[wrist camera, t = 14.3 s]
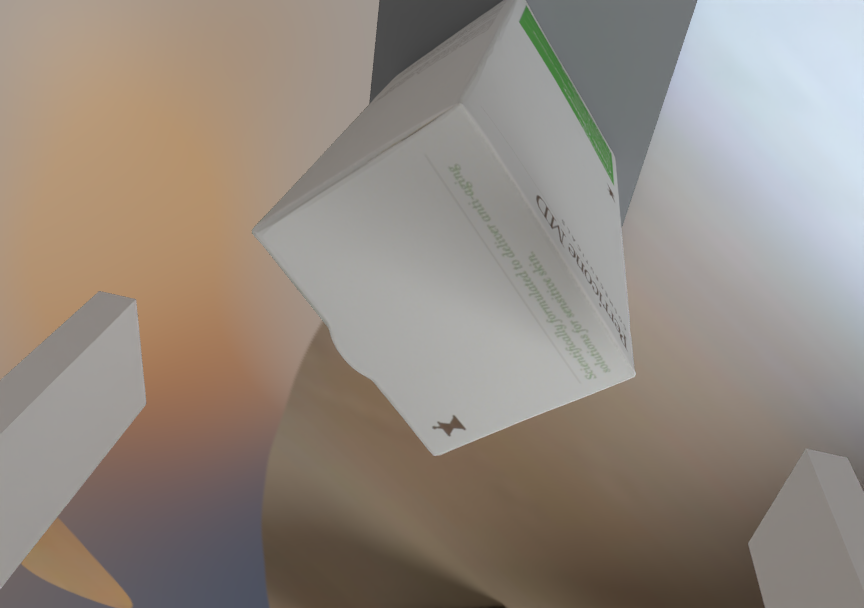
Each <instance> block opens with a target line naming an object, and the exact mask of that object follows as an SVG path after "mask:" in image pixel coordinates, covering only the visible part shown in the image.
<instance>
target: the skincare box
mask: <svg viewBox="0 0 864 608" xmlns="http://www.w3.org/2000/svg"><path fill="white" fill-rule="evenodd" d="M252 234H253V235H254V236H255V237H256V239H257V240H258V241H259V242H260V243H261V244H262V245H263V246H264V248H265V249H266V250H267V251H268V253H269V254H270V255H271V256H272V258H273V259H274V260H275V261H276V263H277V264H278V265H279V267H280V268H281V269H282V270H283V271H284V273H285V274H286V275H287V277H288V278H289V279H290V280H291V282H292V283H293V284H294V285H295V287H296V288H297V289H298V290H299V292H300V293H301V294H302V295H303V297H304V298H305V299H306V300H307V302H308V303H309V304H310V305H311V307H312V308H313V309H314V310H315V312H316V313H317V314H318V315H319V317H320V318H321V319H322V321H323V322H324V323H325V324H326V326H327V327H328V328H329V331H330V335H331V338H332V340H333V343H334V345H335V347H336V349H337V350H338V352H339V353H340V354H341V356H342V357H343V358H344V360H345V361H346V362H347V363H348V364H349V365H350V366H351V367H352V368H353V369H355V370H356V371H358V372H359V373H361V374H362V375H364V376H366V377H367V378H369V379H371V380H372V381H373V382H374V383H375V385H376V386H377V387H378V388H379V390H380V391H381V392H382V393H383V394H384V396H385V397H386V398H387V399H388V400H389V402H390V403H391V404H392V405H393V406H394V408H395V409H396V410H397V411H398V413H399V414H400V415H401V416H402V417H403V419H404V420H405V421H406V422H407V424H408V425H409V426H410V427H411V429H412V430H413V431H414V432H415V434H416V435H417V436H418V438H419V439H420V440H421V441H422V443H423V444H424V445H425V446H426V448H427V449H428V450H429V451H430V452H431V453H432V454H433V455H434V456H437V455H439V456H440V455H442V454H444V453H446V452H449V451H451V450H453V449H456V448H458V447H461V446H463V445H465V444H468V443H470V442H473V441H475V440H478V439H480V438H483V437H485V436H487V435H490V434H492V433H495V432H497V431H500V430H502V429H504V428H507V427H509V426H512V425H514V424H516V423H519V422H521V421H524V420H526V419H529V418H531V417H534V416H536V415H539V414H542V413H544V412H547V411H549V410H552V409H555V408H557V407H560V406H562V405H565V404H568V403H570V402H573V401H576V400H578V399H581V398H583V397H586V396H588V395H591V394H593V393H596V392H598V391H601V390H603V389H606V388H608V387H611V386H613V385H616V384H618V383H621V382H623V381H626V380H628V379H631V378H633V377H635V375H636V372H635V369H634V360H633V350H632V339H631V334H630V318H629V308H628V295H627V286H626V273H625V263H624V252H623V241H622V229H621V218H620V207H619V194H618V183H617V172H616V160H615V156H614V154H613V152H612V150H611V148H610V147H609V145H608V143H607V142H606V140H605V138H604V137H603V135H602V133H601V131H600V129H599V128H598V126H597V124H596V122H595V120H594V118H593V117H592V115H591V113H590V111H589V109H588V108H587V106H586V104H585V103H584V101H583V99H582V97H581V96H580V94H579V92H578V91H577V89H576V87H575V85H574V84H573V82H572V80H571V79H570V77H569V75H568V73H567V72H566V70H565V68H564V67H563V65H562V63H561V61H560V60H559V58H558V56H557V55H556V53H555V51H554V50H553V48H552V46H551V44H550V43H549V41H548V39H547V37H546V36H545V34H544V32H543V30H542V29H541V27H540V25H539V23H538V21H537V20H536V18H535V16H534V14H533V12H532V11H531V9H530V7H529V5H528V3H527V2H526V0H503V1H502V2H500V3H499V4H497V5H496V6H494V7H493V8H492V9H490V10H489V11H487V12H486V13H484V14H483V15H481V16H480V17H479V18H477V19H476V20H474V21H473V22H471V23H470V24H468V25H467V26H466V27H464V28H463V29H461V30H460V31H458V32H457V33H456V34H454V35H453V36H451V37H450V38H448V39H447V40H446V41H444V42H443V43H441V44H440V45H439V46H437V47H436V48H434V49H433V50H432V51H430V52H429V53H427V54H426V55H425V56H423V57H422V58H420V59H419V60H418V61H416V62H415V63H413V64H412V65H411V66H409V67H408V68H406V69H405V70H404V71H402V72H401V73H399V74H398V75H397V76H396V77H395V78H394V79H393V80H392V81H391V82H390V83H389V84H388V85H387V86H386V87H385V88H384V89H383V90H382V91H381V92H380V93H379V94H378V95H377V96H376V97H375V98H374V100H373V101H372V102H371V103H370V104H369V105H368V106H367V107H366V108H365V109H364V111H363V112H362V113H361V114H360V115H359V116H358V117H357V118H356V119H355V121H353V123H352V124H351V125H350V126H349V127H348V128H347V129H346V130H345V131H344V132H343V133H342V134H341V135H340V136H339V137H338V138H337V139H336V140H335V142H334V143H333V144H332V145H331V146H330V147H329V148H328V149H327V150H326V151H325V152H324V154H323V155H322V156H321V157H320V158H319V159H318V160H317V161H316V162H315V163H314V164H313V166H312V167H311V168H310V169H309V170H308V171H307V172H306V173H305V174H304V175H303V176H302V177H301V178H300V179H299V180H298V181H297V182H296V183H295V185H294V186H293V187H292V188H291V189H290V190H289V191H288V192H287V193H286V194H285V195H284V196H283V197H282V199H281V200H280V201H279V202H278V203H277V204H276V205H275V206H274V207H273V208H272V209H271V210H270V211H269V212H268V213H267V214H266V215H265V216H264V217H263V218H262V219H261V220H260V221H259V223H257V225H256V226H255V227H254V228H253V229H252Z"/></svg>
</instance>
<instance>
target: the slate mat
mask: <svg viewBox="0 0 864 608" xmlns="http://www.w3.org/2000/svg"><path fill="white" fill-rule="evenodd" d="M502 1H503V0H380V2H379V12H378V22H377V32H376V33H377V34H376V42H375V53H374V63H373V73H372V83H371V94H370V103H371V102H372V101H373V100H374V98H375V97H376V96H377V95H378V94H379V93H380V92H381V91H382V90H383V89H384V88H385V87H386V86H387V85H388V84H389V83H390V82H391V81H392V80H393V79H394V78H395V77H396V76H397V75H398V74H399V73H401V72H402V71H404V70H405V69H406V68H408V67H409V66H411V65H412V64H413V63H415V62H416V61H418V60H419V59H420V58H422V57H423V56H425V55H426V54H427V53H429V52H430V51H432V50H433V49H434V48H436V47H437V46H439V45H440V44H441V43H443V42H444V41H446V40H447V39H448V38H450V37H451V36H453V35H454V34H456V33H457V32H458V31H460V30H461V29H463V28H464V27H466V26H467V25H468V24H470V23H471V22H473V21H474V20H476V19H477V18H479V17H480V16H481V15H483V14H484V13H486V12H487V11H489V10H490V9H492V8H493V7H494V6H496V5H497V4H499V3H500V2H502ZM526 2H527V3H528V5H529V7H530V9H531V11H532V12H533V14H534V16H535V18H536V20H537V21H538V23H539V25H540V27H541V29H542V30H543V32H544V34H545V36H546V37H547V39H548V41H549V43H550V44H551V46H552V48H553V50H554V51H555V53H556V55H557V56H558V58H559V60H560V61H561V63H562V65H563V67H564V68H565V70H566V72H567V73H568V75H569V77H570V79H571V80H572V82H573V84H574V85H575V87H576V89H577V91H578V92H579V94H580V96H581V97H582V99H583V101H584V103H585V104H586V106H587V108H588V109H589V111H590V113H591V115H592V117H593V118H594V120H595V122H596V124H597V126H598V128H599V129H600V131H601V133H602V135H603V137H604V138H605V140H606V142H607V143H608V145H609V147H610V148H611V150H612V152H613V154H614V156H615V160H616V172H617V183H618V194H619V207H620V218H621V229H622V226H623V223H624V219H625V216H626V213H627V210H628V207H629V204H630V201H631V198H632V195H633V192H634V189H635V186H636V183H637V180H638V177H639V174H640V171H641V168H642V165H643V162H644V159H645V156H646V153H647V150H648V147H649V144H650V141H651V138H652V135H653V132H654V129H655V126H656V123H657V120H658V117H659V114H660V111H661V108H662V105H663V102H664V99H665V96H666V93H667V90H668V87H669V84H670V81H671V78H672V75H673V72H674V69H675V66H676V63H677V60H678V57H679V54H680V51H681V48H682V45H683V42H684V39H685V36H686V33H687V30H688V27H689V24H690V21H691V18H692V15H693V12H694V9H695V6H696V3H697V0H526Z"/></svg>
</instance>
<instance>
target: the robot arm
mask: <svg viewBox="0 0 864 608" xmlns="http://www.w3.org/2000/svg"><path fill="white" fill-rule="evenodd" d="M145 405H146V395H145V385H144V375H143V365H142V354H141V344H140V335H139V324H138V314H137V304H136V299H132V298H128V297H124V296H119V295H115V294H110V293H106V292H101V291H99V292H98V293H97V294H96V295H94V296H93V297H92V298H91V299H90V300H89V301H88V302H87V303H85V304H84V305H83V306H82V307H81V308H80V309H79V310H78V311H77V312H75V314H73V315H72V316H71V317H70V318H69V319H68V320H67V321H65V322H64V323H63V324H62V325H61V326H60V327H59V328H58V329H57V330H55V332H54V333H52V334H51V335H50V336H49V337H48V338H47V339H45V340H44V341H43V342H42V343H41V344H40V345H39V346H38V347H37V348H35V349H34V350H33V351H32V352H31V353H30V354H29V355H28V356H27V357H25V358H24V359H23V360H22V361H21V362H20V363H19V364H18V365H17V366H15V367H14V368H13V369H12V370H11V371H10V372H9V373H8V374H7V375H5V376H4V377H3V378H2V379H1V380H0V589H1V587H2V586H3V585H4V584H5V582H6V581H7V580H8V579H9V577H10V576H11V575H12V573H13V572H14V571H15V570H16V568H17V567H18V566H19V565H20V563H21V562H22V561H23V560H24V558H25V557H26V556H27V554H28V553H29V552H30V551H31V549H32V548H33V547H34V546H35V544H36V543H37V542H38V541H39V539H40V538H41V537H42V536H43V534H44V533H45V532H46V530H47V529H48V528H49V527H50V525H51V524H52V523H53V522H54V520H55V519H56V518H57V517H58V515H59V514H60V513H61V511H62V510H63V509H64V508H65V506H66V505H67V504H68V503H69V501H70V500H71V499H72V498H73V496H74V495H75V494H76V492H77V491H78V490H79V489H80V487H81V486H82V485H83V484H84V482H85V481H86V480H87V479H88V477H89V476H90V474H91V473H92V472H93V471H94V470H95V468H96V467H97V465H99V463H100V462H101V461H102V460H103V458H104V457H105V456H106V454H107V453H108V452H109V451H110V449H111V448H112V447H113V445H114V444H115V443H116V442H117V440H118V439H119V438H120V437H121V435H122V434H123V433H124V432H125V430H126V429H127V428H128V427H129V425H130V424H131V423H132V421H133V420H134V419H135V418H136V416H137V415H138V414H139V413H140V411H141V410H142V409H143V407H144V406H145ZM748 545H749V549H750V553H751V557H752V560H753V564H754V568H755V572H756V576H757V579H758V583H759V587H760V591H761V595H762V598H763V602H764V606H765V608H864V492H863V490H862V488H861V485H860V483H859V481H858V479H857V477H856V475H855V473H854V470H853V468H852V466H851V464H850V462H849V460H848V458H847V457H842V456H838V455H833V454H829V453H825V452H820V451H816V450H811V449H807V448H806V449H805V451H804V452H803V454H802V456H801V457H800V459H799V460H798V462H797V464H796V465H795V467H794V469H793V470H792V472H791V474H790V475H789V477H788V479H787V480H786V482H785V483H784V485H783V487H782V488H781V490H780V492H779V493H778V495H777V497H776V498H775V500H774V502H773V503H772V505H771V507H770V508H769V510H768V511H767V513H766V515H765V516H764V518H763V520H762V521H761V523H760V525H759V526H758V528H757V530H756V531H755V533H754V535H753V536H752V538H751V539H750V541H749V543H748Z"/></svg>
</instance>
